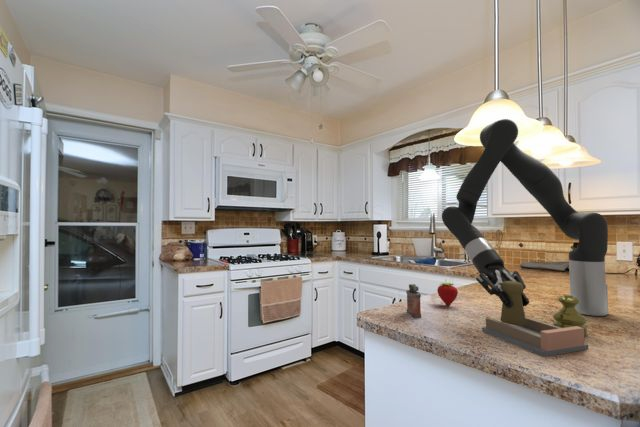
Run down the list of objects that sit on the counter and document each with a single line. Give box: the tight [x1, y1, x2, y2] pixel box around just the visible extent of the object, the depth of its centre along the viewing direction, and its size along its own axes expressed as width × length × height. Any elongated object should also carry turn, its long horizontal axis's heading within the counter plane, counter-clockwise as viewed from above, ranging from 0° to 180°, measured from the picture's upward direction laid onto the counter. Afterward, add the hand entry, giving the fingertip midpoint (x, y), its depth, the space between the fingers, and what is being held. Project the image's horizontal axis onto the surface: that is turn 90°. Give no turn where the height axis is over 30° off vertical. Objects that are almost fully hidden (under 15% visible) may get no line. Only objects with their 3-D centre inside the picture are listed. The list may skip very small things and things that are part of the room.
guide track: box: [481, 316, 590, 357], centre depth 82 cm, size 14×18×5 cm
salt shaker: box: [552, 294, 588, 337], centre depth 87 cm, size 7×7×10 cm
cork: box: [500, 281, 526, 325], centre depth 87 cm, size 6×6×11 cm
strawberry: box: [436, 278, 459, 307], centre depth 116 cm, size 6×8×10 cm
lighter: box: [405, 283, 422, 319], centre depth 106 cm, size 8×3×10 cm, turn 5°
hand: (518, 305), depth 86 cm, fingers closed on cork, 4 cm apart
